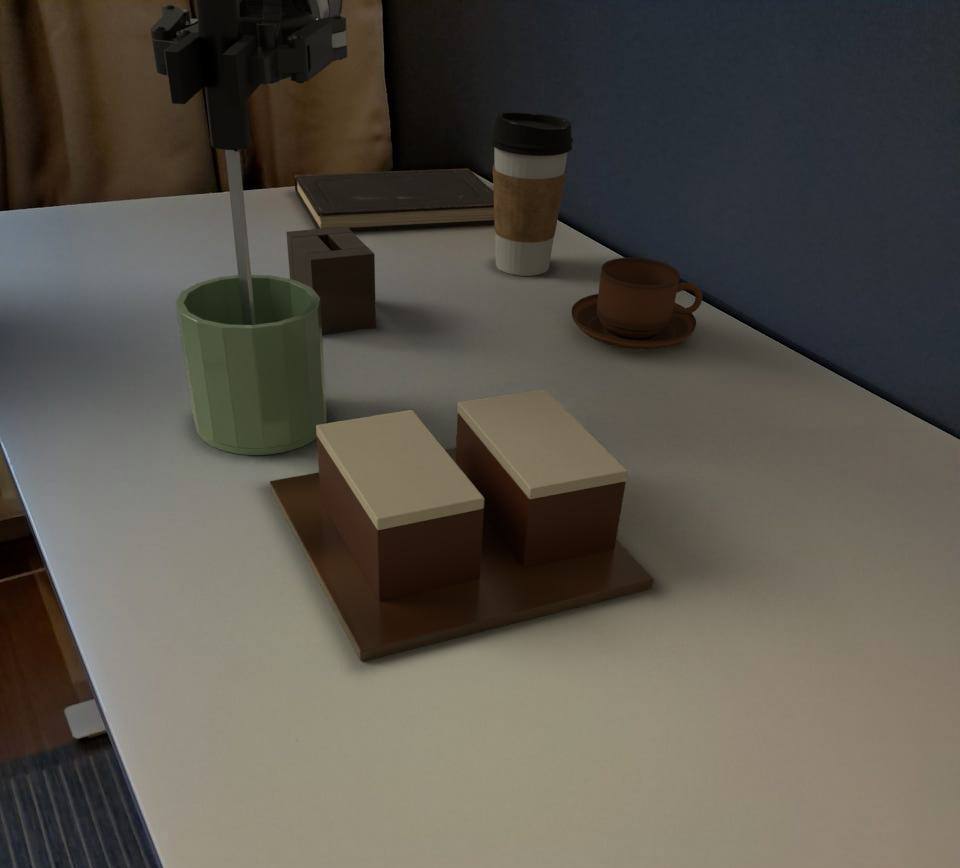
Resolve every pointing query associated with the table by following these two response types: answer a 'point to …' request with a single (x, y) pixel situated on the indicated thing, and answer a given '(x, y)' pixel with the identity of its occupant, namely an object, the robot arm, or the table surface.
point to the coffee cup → (528, 188)
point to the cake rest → (400, 503)
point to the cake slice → (540, 476)
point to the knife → (227, 124)
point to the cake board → (454, 607)
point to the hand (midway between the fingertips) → (203, 79)
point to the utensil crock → (254, 364)
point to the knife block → (336, 276)
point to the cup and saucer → (637, 306)
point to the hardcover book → (396, 199)
